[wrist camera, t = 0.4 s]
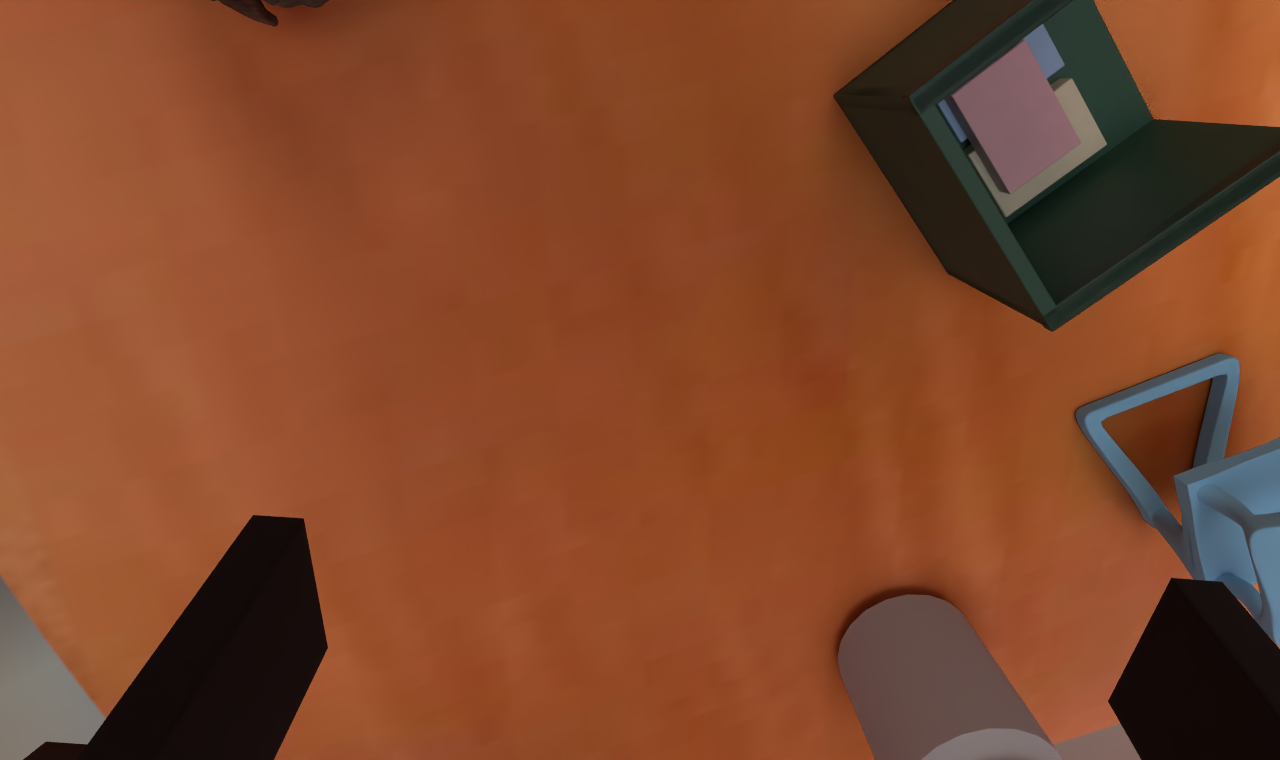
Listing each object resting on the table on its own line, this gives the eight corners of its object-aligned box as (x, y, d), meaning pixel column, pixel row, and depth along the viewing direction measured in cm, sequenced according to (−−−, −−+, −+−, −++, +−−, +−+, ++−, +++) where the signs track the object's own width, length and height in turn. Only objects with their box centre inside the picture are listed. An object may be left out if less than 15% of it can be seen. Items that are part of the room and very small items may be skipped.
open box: (949, 276, 37) (1052, 332, 29) (830, 93, 34) (907, 96, 26) (1152, 131, 35) (1325, 146, 27) (1045, -77, 32) (1204, -134, 24)
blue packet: (951, 141, 34) (961, 143, 34) (911, 75, 33) (920, 75, 33) (1053, 65, 34) (1066, 65, 33) (1014, -5, 33) (1027, -8, 32)
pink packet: (1068, 141, 34) (1082, 143, 33) (999, 192, 34) (1010, 194, 33) (1013, 40, 32) (1025, 39, 31) (941, 95, 33) (951, 95, 32)
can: (985, 596, 44) (1120, 773, 32) (938, 703, 46) (1047, 902, 35) (857, 574, 43) (949, 748, 32) (816, 684, 45) (888, 882, 34)
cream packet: (995, 214, 36) (1006, 218, 35) (958, 152, 35) (968, 154, 34) (1094, 143, 35) (1108, 144, 34) (1059, 77, 34) (1072, 77, 33)
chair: (1104, 538, 43) (1285, 701, 32) (1072, 408, 40) (1259, 535, 29) (1246, 486, 42) (1483, 632, 31) (1224, 349, 39) (1476, 455, 28)
